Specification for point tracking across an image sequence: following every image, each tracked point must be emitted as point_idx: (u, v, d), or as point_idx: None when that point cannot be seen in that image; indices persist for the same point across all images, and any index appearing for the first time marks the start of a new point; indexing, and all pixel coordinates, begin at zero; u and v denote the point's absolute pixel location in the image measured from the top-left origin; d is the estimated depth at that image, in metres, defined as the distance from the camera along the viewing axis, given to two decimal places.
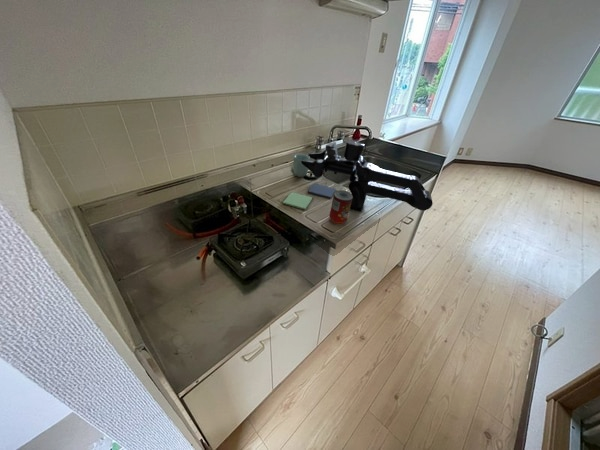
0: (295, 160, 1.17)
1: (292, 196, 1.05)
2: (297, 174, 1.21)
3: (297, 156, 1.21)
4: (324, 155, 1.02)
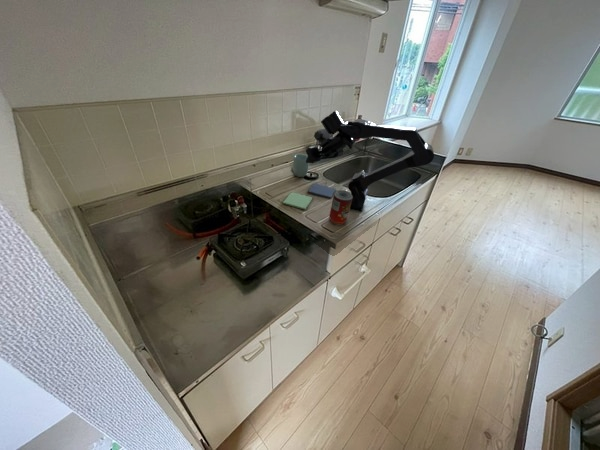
0: (295, 160, 1.17)
1: (292, 196, 1.05)
2: (297, 174, 1.21)
3: (297, 156, 1.21)
4: None
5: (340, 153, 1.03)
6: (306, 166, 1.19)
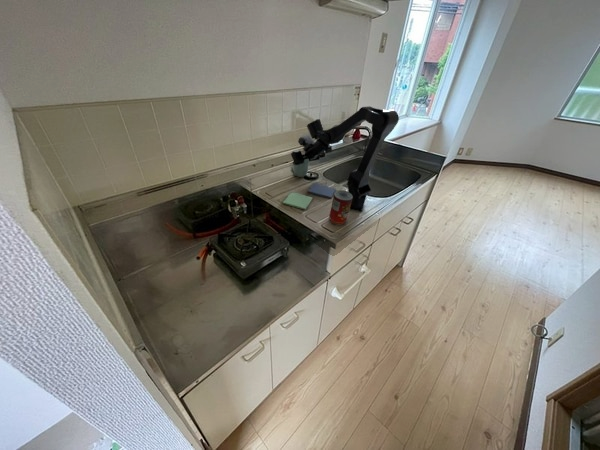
0: None
1: (292, 196, 1.05)
2: (297, 174, 1.21)
3: None
4: None
5: (322, 156, 1.18)
6: (306, 166, 1.19)
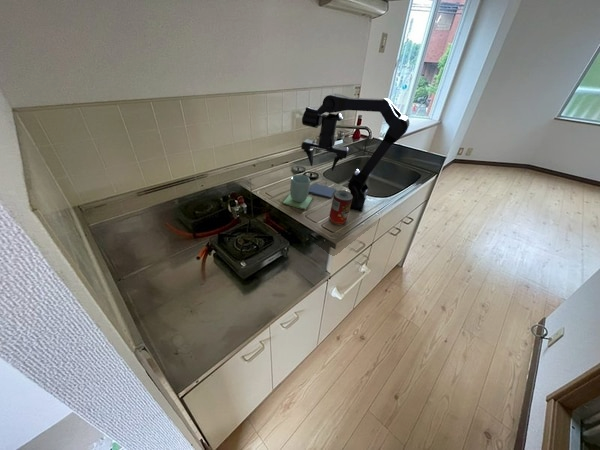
0: (299, 185, 0.95)
1: None
2: (301, 200, 0.99)
3: (293, 180, 0.97)
4: None
5: (340, 151, 0.93)
6: None
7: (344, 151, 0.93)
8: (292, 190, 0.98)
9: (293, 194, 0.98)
